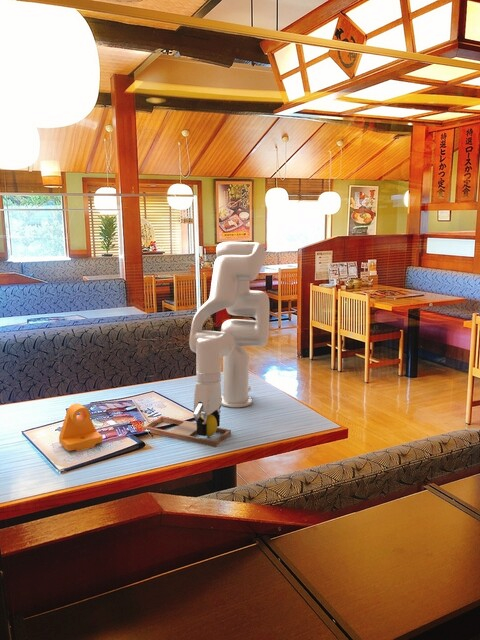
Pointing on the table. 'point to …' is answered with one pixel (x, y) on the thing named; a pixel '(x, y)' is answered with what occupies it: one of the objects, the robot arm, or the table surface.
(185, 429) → the wooden frame
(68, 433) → the bracket
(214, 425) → the lemon
